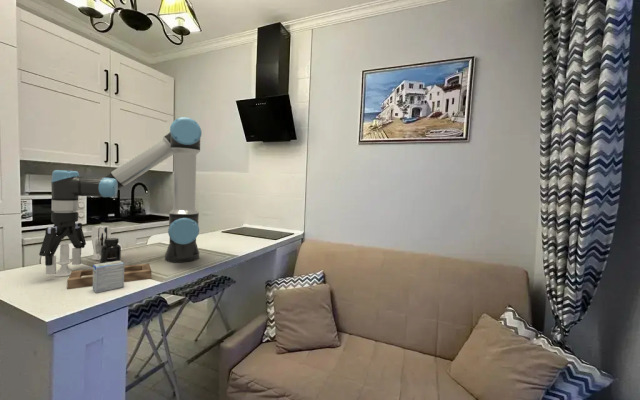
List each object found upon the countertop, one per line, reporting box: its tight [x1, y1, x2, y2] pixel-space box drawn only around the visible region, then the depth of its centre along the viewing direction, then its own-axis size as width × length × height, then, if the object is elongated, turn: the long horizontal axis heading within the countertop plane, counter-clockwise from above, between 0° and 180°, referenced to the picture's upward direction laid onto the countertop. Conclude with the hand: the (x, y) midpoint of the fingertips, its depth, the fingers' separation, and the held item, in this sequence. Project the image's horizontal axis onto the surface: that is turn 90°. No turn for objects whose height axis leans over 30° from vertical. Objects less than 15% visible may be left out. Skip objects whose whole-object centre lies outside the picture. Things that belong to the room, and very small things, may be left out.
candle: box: [54, 242, 73, 277], centre depth 106 cm, size 5×5×12 cm
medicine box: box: [92, 261, 125, 294], centre depth 95 cm, size 8×4×9 cm, turn 141°
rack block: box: [66, 263, 152, 290], centre depth 104 cm, size 24×11×3 cm, turn 125°
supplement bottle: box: [99, 237, 122, 264], centre depth 117 cm, size 7×7×12 cm
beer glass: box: [90, 225, 112, 261], centre depth 128 cm, size 7×7×15 cm
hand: (64, 268), depth 106 cm, fingers open, 11 cm apart
